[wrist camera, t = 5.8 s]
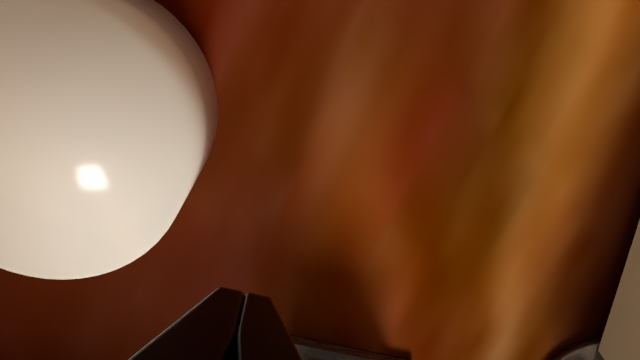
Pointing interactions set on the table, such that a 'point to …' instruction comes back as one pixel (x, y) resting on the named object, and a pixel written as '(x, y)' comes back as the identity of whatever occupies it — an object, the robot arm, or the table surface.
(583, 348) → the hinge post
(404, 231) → the table surface
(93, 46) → the off-white rounded piece
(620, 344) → the off-white flat block
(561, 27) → the table surface
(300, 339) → the stile post
